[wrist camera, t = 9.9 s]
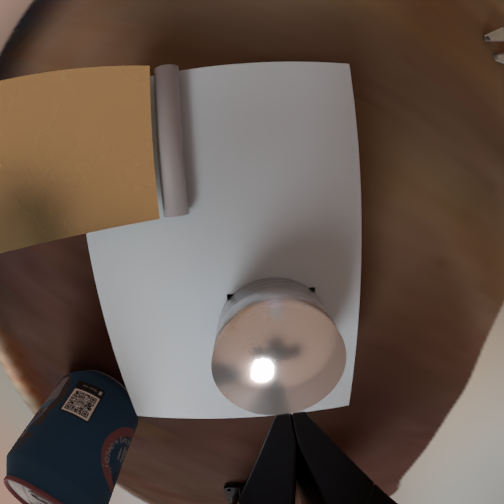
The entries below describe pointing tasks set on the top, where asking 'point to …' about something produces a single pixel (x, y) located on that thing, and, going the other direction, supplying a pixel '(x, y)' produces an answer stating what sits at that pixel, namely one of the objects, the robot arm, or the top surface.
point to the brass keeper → (75, 154)
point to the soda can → (74, 443)
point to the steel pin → (276, 348)
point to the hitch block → (233, 223)
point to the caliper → (496, 35)
